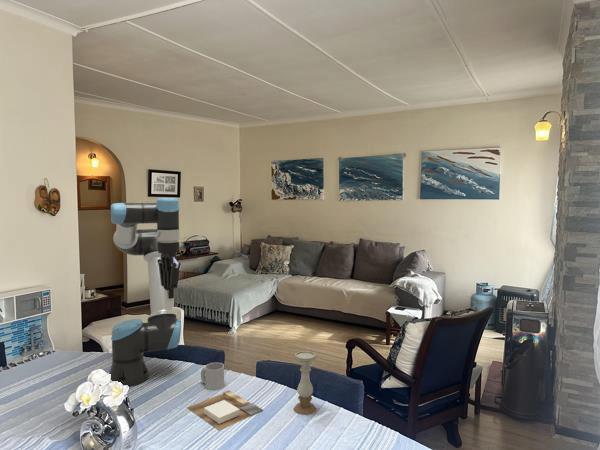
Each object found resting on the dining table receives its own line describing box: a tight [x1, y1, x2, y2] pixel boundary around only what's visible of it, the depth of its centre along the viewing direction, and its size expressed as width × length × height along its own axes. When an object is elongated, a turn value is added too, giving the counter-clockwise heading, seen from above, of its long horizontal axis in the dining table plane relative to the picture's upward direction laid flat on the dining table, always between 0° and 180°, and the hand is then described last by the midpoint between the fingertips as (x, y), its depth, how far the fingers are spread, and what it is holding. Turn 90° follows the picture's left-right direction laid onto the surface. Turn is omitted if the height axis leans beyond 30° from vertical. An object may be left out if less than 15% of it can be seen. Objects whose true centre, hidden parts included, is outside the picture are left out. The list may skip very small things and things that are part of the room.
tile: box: [204, 400, 240, 424], centre depth 142 cm, size 2×8×9 cm
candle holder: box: [293, 350, 318, 416], centre depth 146 cm, size 9×9×20 cm
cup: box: [200, 362, 225, 391], centre depth 164 cm, size 7×10×9 cm
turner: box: [222, 389, 264, 417], centre depth 150 cm, size 18×5×2 cm, turn 44°
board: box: [186, 393, 265, 431], centre depth 146 cm, size 20×18×1 cm
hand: (169, 306), depth 153 cm, fingers closed
